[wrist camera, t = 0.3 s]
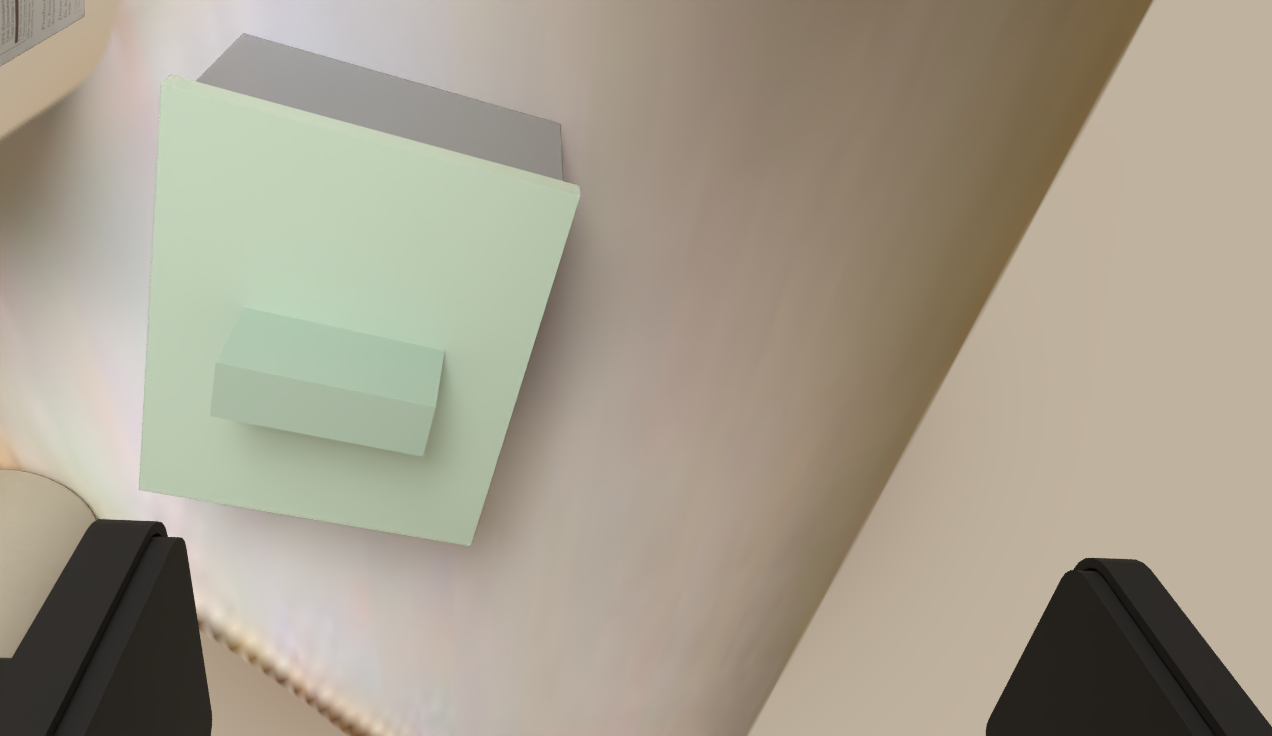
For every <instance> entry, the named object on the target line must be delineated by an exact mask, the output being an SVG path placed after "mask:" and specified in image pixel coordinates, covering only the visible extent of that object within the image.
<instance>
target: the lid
mask: <svg viewBox="0 0 1272 736" xmlns="http://www.w3.org/2000/svg"><path fill="white" fill-rule="evenodd" d="M579 198H580V187H579V185H576V184H572V183H568V182H565V181H561V180H557V179H554V178H550V177H546V176H542V175H539V174H535V173H531V172H528V171H524V170H520V169H517V168H513V167H509V166H506V165H502V164H498V163H495V162H491V161H487V160H483V159H480V158H476V157H472V156H469V155H465V154H461V153H458V152H454V151H450V150H447V149H443V148H439V147H436V146H432V145H428V144H424V143H421V142H417V141H413V140H410V139H406V138H402V137H399V136H395V135H391V134H388V133H384V132H380V131H377V130H373V129H369V128H365V127H362V126H358V125H354V124H351V123H347V122H343V121H340V120H336V119H332V118H329V117H325V116H321V115H318V114H314V113H310V112H306V111H303V110H299V109H295V108H292V107H288V106H284V105H281V104H277V103H273V102H270V101H266V100H262V99H259V98H255V97H251V96H247V95H244V94H240V93H236V92H233V91H229V90H225V89H222V88H218V87H214V86H211V85H207V84H203V83H199V82H196V81H192V80H188V79H185V78H181V77H177V76H174V75H170V76H169V77H168V78H167V79H166V80H164V81H163V82H162V83H161V98H160V116H159V134H158V152H157V170H156V188H155V206H154V225H153V243H152V261H151V279H150V297H149V315H148V333H147V351H146V369H145V387H144V405H143V423H142V441H141V459H140V477H139V490H142V491H148V492H154V493H160V494H166V495H172V496H177V497H183V498H189V499H195V500H201V501H207V502H213V503H219V504H224V505H230V506H236V507H242V508H248V509H254V510H260V511H266V512H272V513H277V514H283V515H289V516H295V517H301V518H307V519H313V520H319V521H324V522H330V523H336V524H342V525H348V526H354V527H360V528H366V529H371V530H377V531H383V532H389V533H395V534H401V535H407V536H413V537H418V538H424V539H430V540H436V541H442V542H448V543H454V544H460V545H466V546H471V543H472V540H473V537H474V534H475V531H476V527H477V524H478V521H479V518H480V515H481V511H482V508H483V505H484V502H485V499H486V496H487V492H488V489H489V486H490V483H491V480H492V476H493V473H494V470H495V467H496V464H497V460H498V457H499V454H500V451H501V448H502V444H503V441H504V438H505V435H506V432H507V428H508V425H509V422H510V419H511V416H512V412H513V409H514V406H515V403H516V400H517V396H518V393H519V390H520V387H521V384H522V381H523V377H524V374H525V371H526V368H527V365H528V361H529V358H530V355H531V352H532V349H533V345H534V342H535V339H536V336H537V333H538V329H539V326H540V323H541V320H542V317H543V313H544V310H545V307H546V304H547V301H548V297H549V294H550V291H551V288H552V285H553V281H554V278H555V275H556V272H557V269H558V266H559V262H560V259H561V256H562V253H563V250H564V246H565V243H566V240H567V237H568V234H569V230H570V227H571V224H572V221H573V218H574V214H575V211H576V208H577V205H578V202H579Z"/></svg>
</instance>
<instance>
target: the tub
mask: <svg viewBox="0 0 1272 736" xmlns="http://www.w3.org/2000/svg"><path fill="white" fill-rule="evenodd" d="M196 82H199V83H203V84H207V85H211V86H214V87H218V88H222V89H225V90H229V91H233V92H236V93H240V94H244V95H247V96H251V97H255V98H259V99H262V100H266V101H270V102H273V103H277V104H281V105H284V106H288V107H292V108H295V109H299V110H303V111H306V112H310V113H314V114H318V115H321V116H325V117H329V118H332V119H336V120H340V121H343V122H347V123H351V124H354V125H358V126H362V127H365V128H369V129H373V130H377V131H380V132H384V133H388V134H391V135H395V136H399V137H402V138H406V139H410V140H413V141H417V142H421V143H424V144H428V145H432V146H436V147H439V148H443V149H447V150H450V151H454V152H458V153H461V154H465V155H469V156H472V157H476V158H480V159H483V160H487V161H491V162H495V163H498V164H502V165H506V166H509V167H513V168H517V169H520V170H524V171H528V172H531V173H535V174H539V175H542V176H546V177H550V178H554V179H557V180H561V181H563V171H562V151H561V131H560V124H559V123H555V122H552V121H548V120H545V119H541V118H538V117H534V116H531V115H527V114H524V113H520V112H517V111H513V110H510V109H506V108H503V107H499V106H496V105H492V104H489V103H485V102H482V101H478V100H475V99H471V98H468V97H464V96H461V95H457V94H454V93H450V92H447V91H443V90H440V89H436V88H433V87H429V86H426V85H422V84H419V83H415V82H412V81H408V80H405V79H401V78H398V77H394V76H391V75H387V74H384V73H380V72H377V71H373V70H370V69H366V68H363V67H359V66H356V65H352V64H349V63H345V62H342V61H338V60H335V59H331V58H328V57H324V56H321V55H317V54H314V53H310V52H307V51H303V50H300V49H296V48H293V47H289V46H286V45H282V44H279V43H275V42H272V41H269V40H265V39H262V38H258V37H255V36H251V35H248V34H244V33H243V34H242V35H241V36H240V37H239V38H238V39H237V40H236V41H235V42H234V43H233V44H232V45H231V46H230V47H229V48H228V49H227V50H226V51H225V52H224V53H223V54H222V55H221V56H220V57H219V58H218V59H217V60H216V62H215V63H214V64H213V65H212V66H211V67H210V68H209V69H208V70H207V71H206V72H205V73H204V74H203V75H202V76H201V77H200V78H199V79H198V80H197V81H196Z"/></svg>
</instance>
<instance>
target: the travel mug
mask: <svg viewBox="0 0 1272 736" xmlns="http://www.w3.org/2000/svg"><path fill="white" fill-rule="evenodd" d="M94 521H96V519H95V517H94V515H93V513H92V512H91V510H90V509H89V508H88V506H87V505H86V504H85V503H84V502H83V501H82V500H81V499H80V498H79V497H78V496H77V495H75V494H74V493H73V492H72V491H70V490H69V489H67V488H66V487H64V486H62V485H60V484H58V483H56V482H54V481H52V480H50V479H47V478H45V477H42V476H39V475H36V474H32V473H28V472H23V471H17V470H0V658H12V657H13V655H14V653H15V651H16V650H17V648H18V646H19V645H20V643H21V641H22V639H23V638H24V636H25V634H26V633H27V631H28V629H29V627H30V626H31V624H32V622H33V621H34V619H35V617H36V615H37V614H38V612H39V610H40V609H41V607H42V605H43V604H44V602H45V600H46V598H47V597H48V595H49V593H50V592H51V590H52V588H53V586H54V585H55V583H56V581H57V580H58V578H59V576H60V574H61V573H62V571H63V569H64V568H65V566H66V564H67V562H68V561H69V559H70V557H71V556H72V554H73V552H74V551H75V549H76V547H77V545H78V544H79V542H80V540H81V539H82V537H83V535H84V533H85V532H86V530H87V529H88V528H89V526H90V525H91V524H92V523H93V522H94Z"/></svg>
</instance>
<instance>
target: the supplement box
mask: <svg viewBox="0 0 1272 736" xmlns="http://www.w3.org/2000/svg"><path fill="white" fill-rule="evenodd" d="M83 17H84V0H0V66H1V65H3V64H5V63H7V62H9V61H10V60H12V59H14V58H15V57H16V56H19V55H20V54H21V53H23V52H25V51H27V50H29V49H31V48H32V47H34V46H35V45H37V44H39V43H40V42H42V41H44V40H46V39H47V38H49V37H51V36H52V35H54V34H56V33H57V32H59V31H61V30H63V29H64V28H66V27H68V26H69V25H71V24H72V23H74V22H76V21H78V20H79V19H81V18H83Z"/></svg>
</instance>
